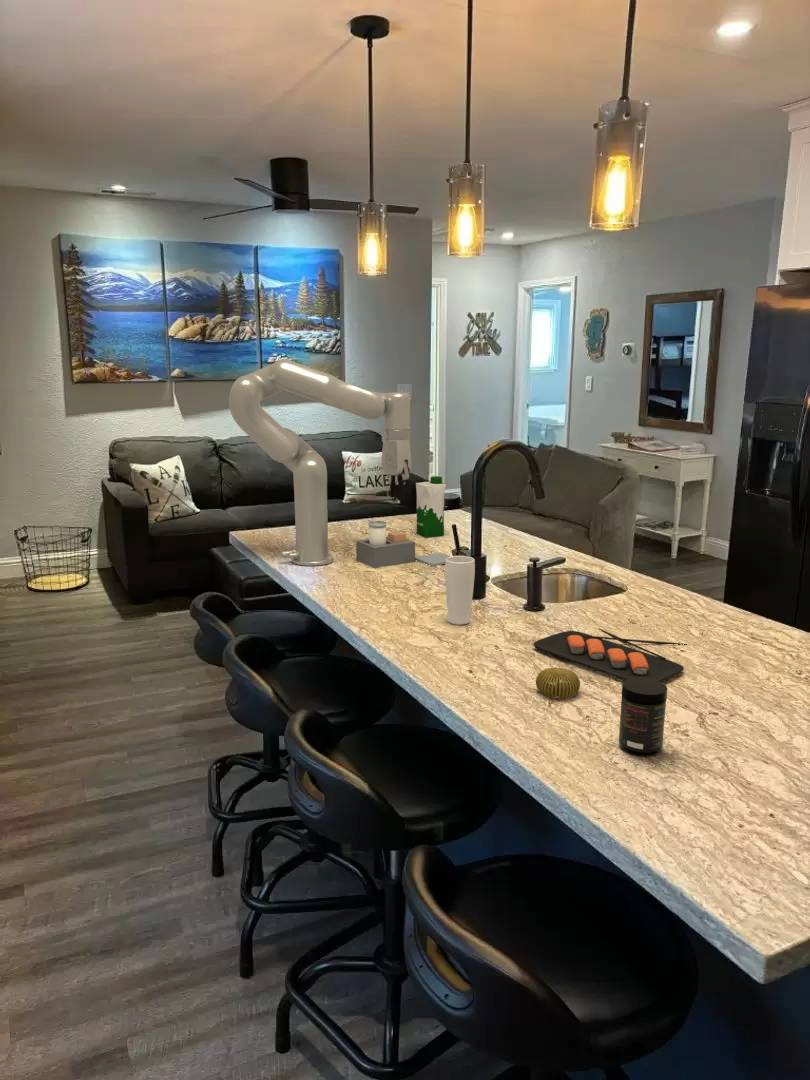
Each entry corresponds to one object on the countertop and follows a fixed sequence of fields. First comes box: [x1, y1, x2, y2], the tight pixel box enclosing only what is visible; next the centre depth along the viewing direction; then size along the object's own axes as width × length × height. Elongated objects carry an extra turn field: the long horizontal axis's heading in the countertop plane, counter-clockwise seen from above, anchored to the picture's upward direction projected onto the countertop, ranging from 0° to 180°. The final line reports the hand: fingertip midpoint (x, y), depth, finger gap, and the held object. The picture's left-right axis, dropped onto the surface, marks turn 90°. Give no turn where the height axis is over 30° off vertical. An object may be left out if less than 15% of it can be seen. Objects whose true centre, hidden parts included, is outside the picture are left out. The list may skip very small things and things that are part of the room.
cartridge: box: [368, 520, 387, 546], centre depth 239 cm, size 5×5×12 cm
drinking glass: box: [444, 555, 476, 626], centre depth 185 cm, size 7×7×15 cm
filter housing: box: [355, 536, 416, 569], centre depth 241 cm, size 14×11×6 cm
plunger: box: [387, 531, 407, 542], centre depth 242 cm, size 4×4×5 cm
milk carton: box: [415, 475, 447, 539], centre depth 274 cm, size 9×9×20 cm
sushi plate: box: [533, 628, 688, 683], centre depth 167 cm, size 29×30×4 cm
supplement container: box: [618, 678, 668, 757], centre depth 125 cm, size 7×7×10 cm
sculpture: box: [535, 667, 581, 700], centre depth 147 cm, size 8×4×8 cm
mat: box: [415, 552, 451, 567], centre depth 241 cm, size 10×10×1 cm
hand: (397, 496), depth 239 cm, fingers closed
